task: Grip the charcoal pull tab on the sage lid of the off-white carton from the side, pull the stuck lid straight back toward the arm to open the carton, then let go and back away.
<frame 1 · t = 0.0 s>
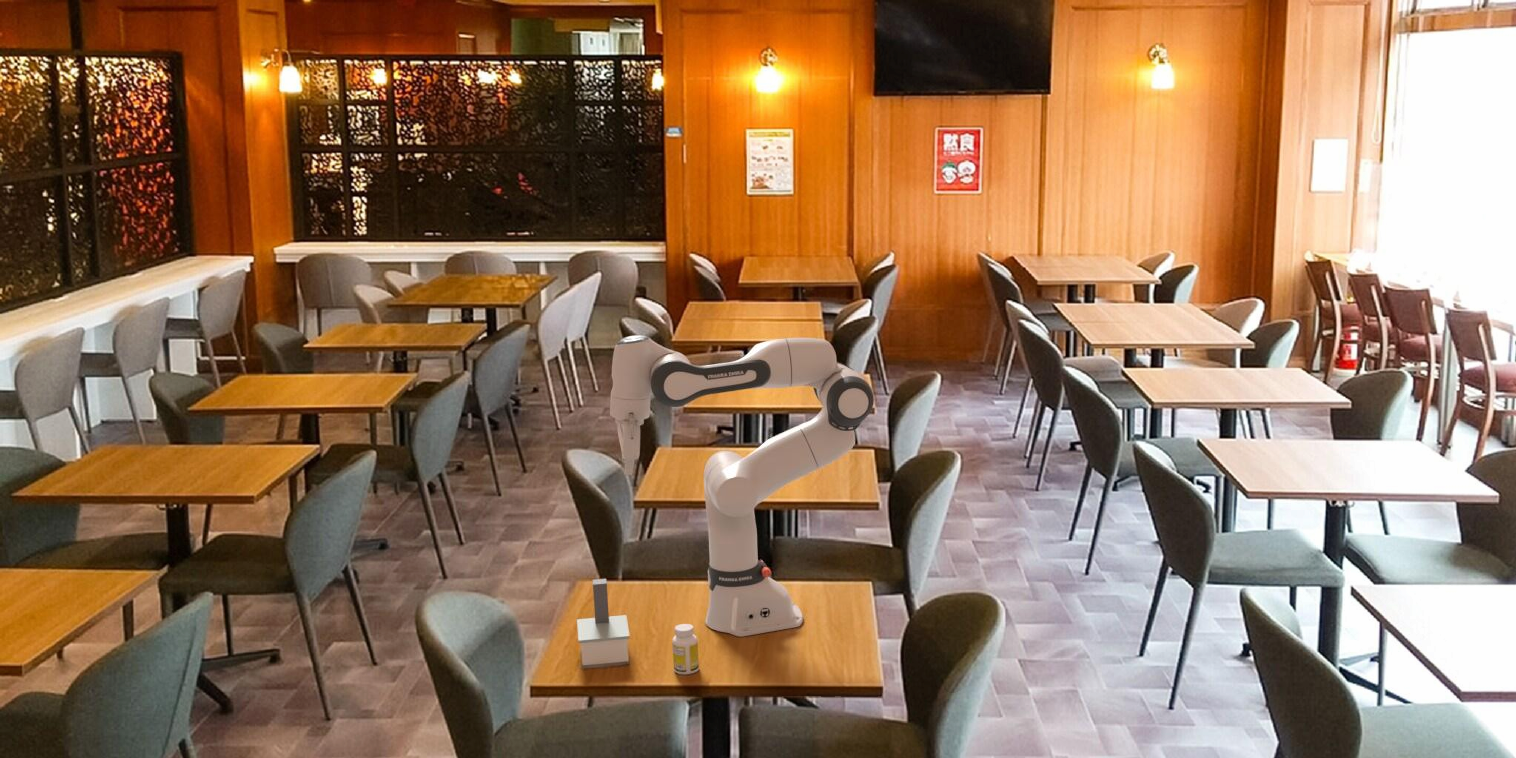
hand: (627, 468, 321), 39 cm above the table, tool pointing down, fingers open, 8 cm apart
carton: (604, 656, 316), on the table
carton lid: (601, 609, 314), point 11 cm above the table, slide at 0.0 cm
supplement bottle: (686, 670, 308), on the table
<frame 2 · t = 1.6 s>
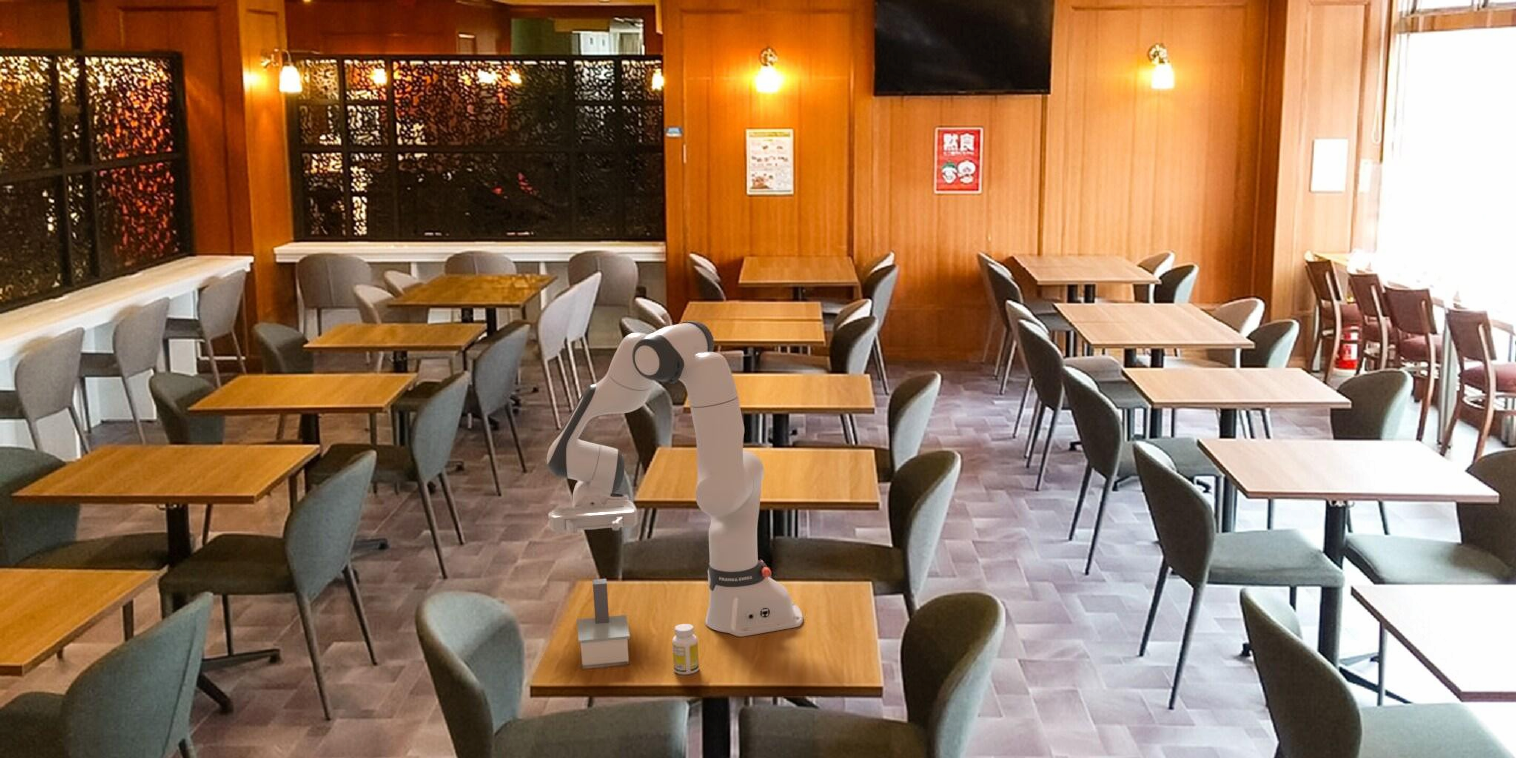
hand: (594, 528, 326), 24 cm above the table, tool horizontal, fingers open, 8 cm apart
nothing on the table moved.
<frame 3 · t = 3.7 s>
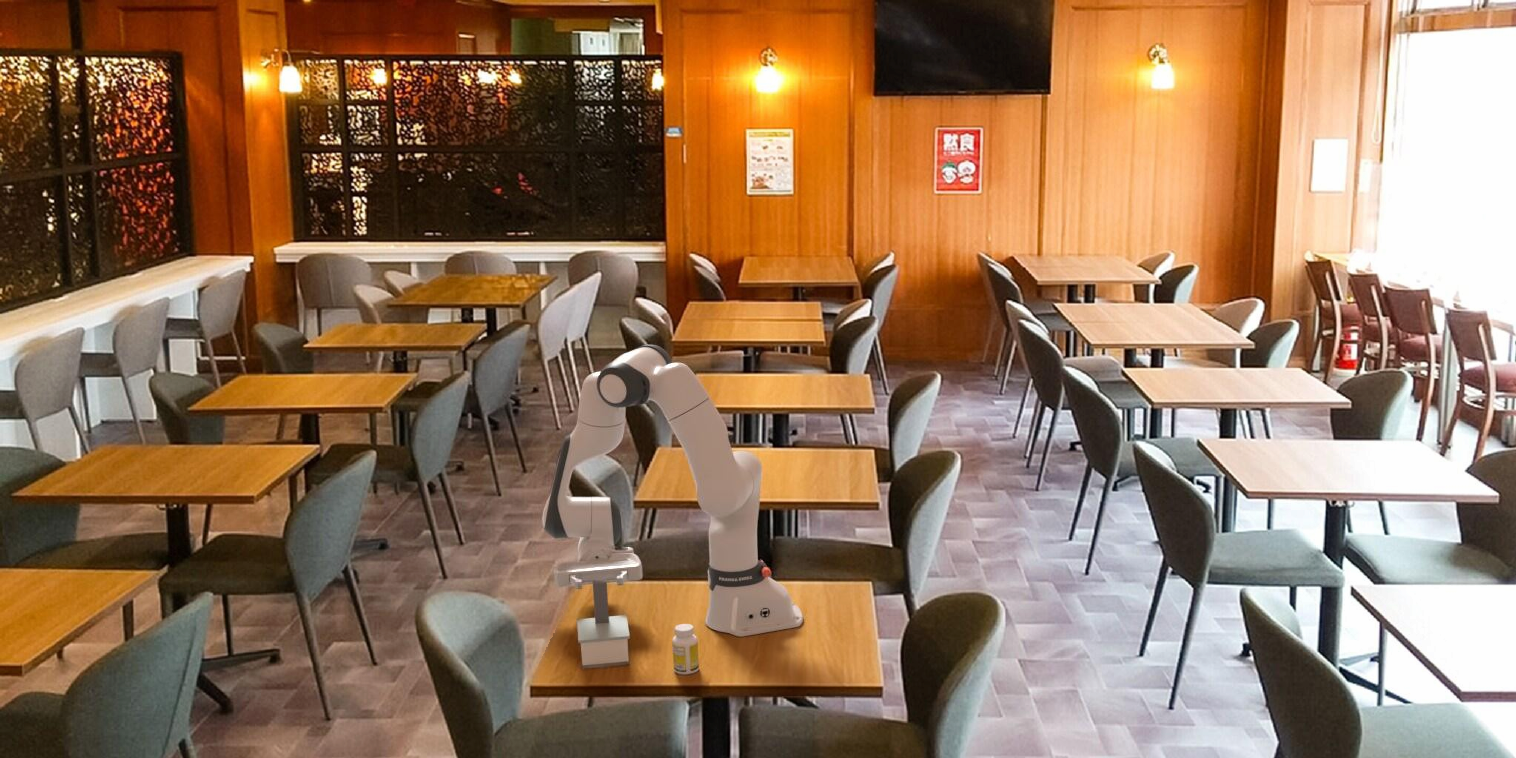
hand: (599, 583, 325), 12 cm above the table, tool horizontal, fingers open, 8 cm apart
nothing on the table moved.
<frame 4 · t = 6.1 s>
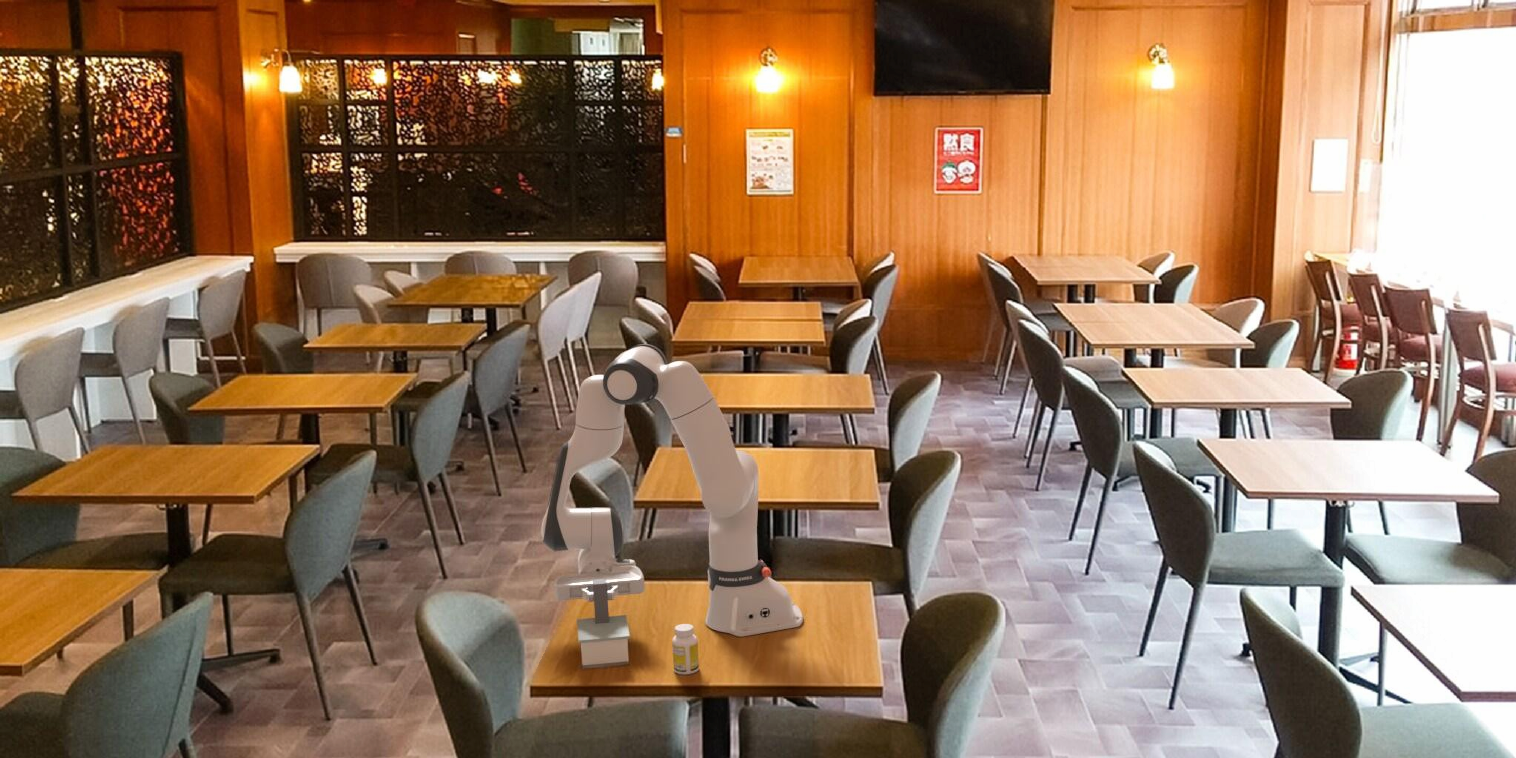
hand: (600, 597, 316), 13 cm above the table, tool horizontal, fingers closed on carton lid, 3 cm apart
carton lid: (601, 609, 314), point 11 cm above the table, slide at 0.0 cm, touching gripper
everything else where it was.
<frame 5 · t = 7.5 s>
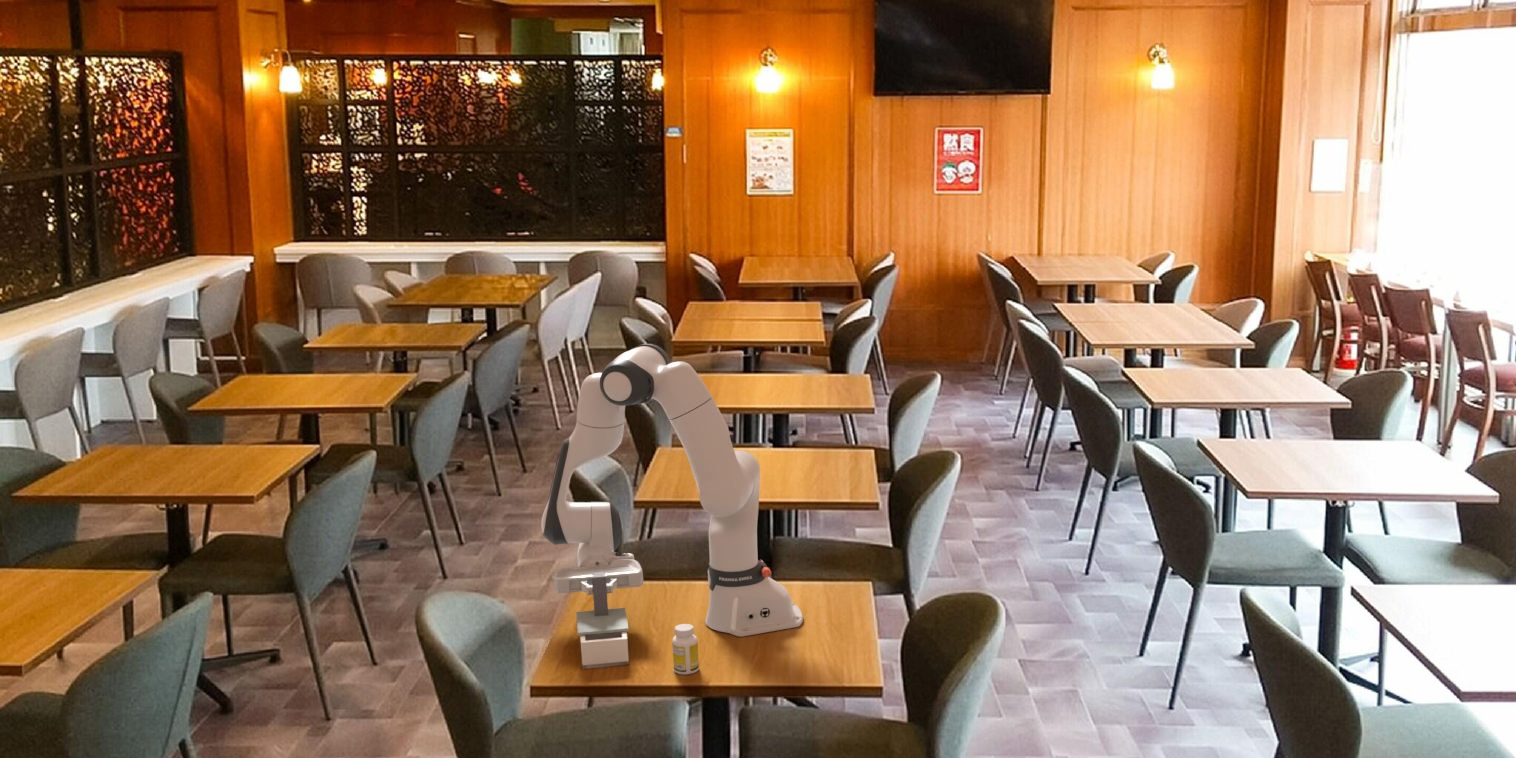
hand: (599, 590, 320), 13 cm above the table, tool horizontal, fingers closed on carton lid, 3 cm apart
carton lid: (600, 601, 318), point 11 cm above the table, slide at 4.3 cm, touching gripper
everything else where it was.
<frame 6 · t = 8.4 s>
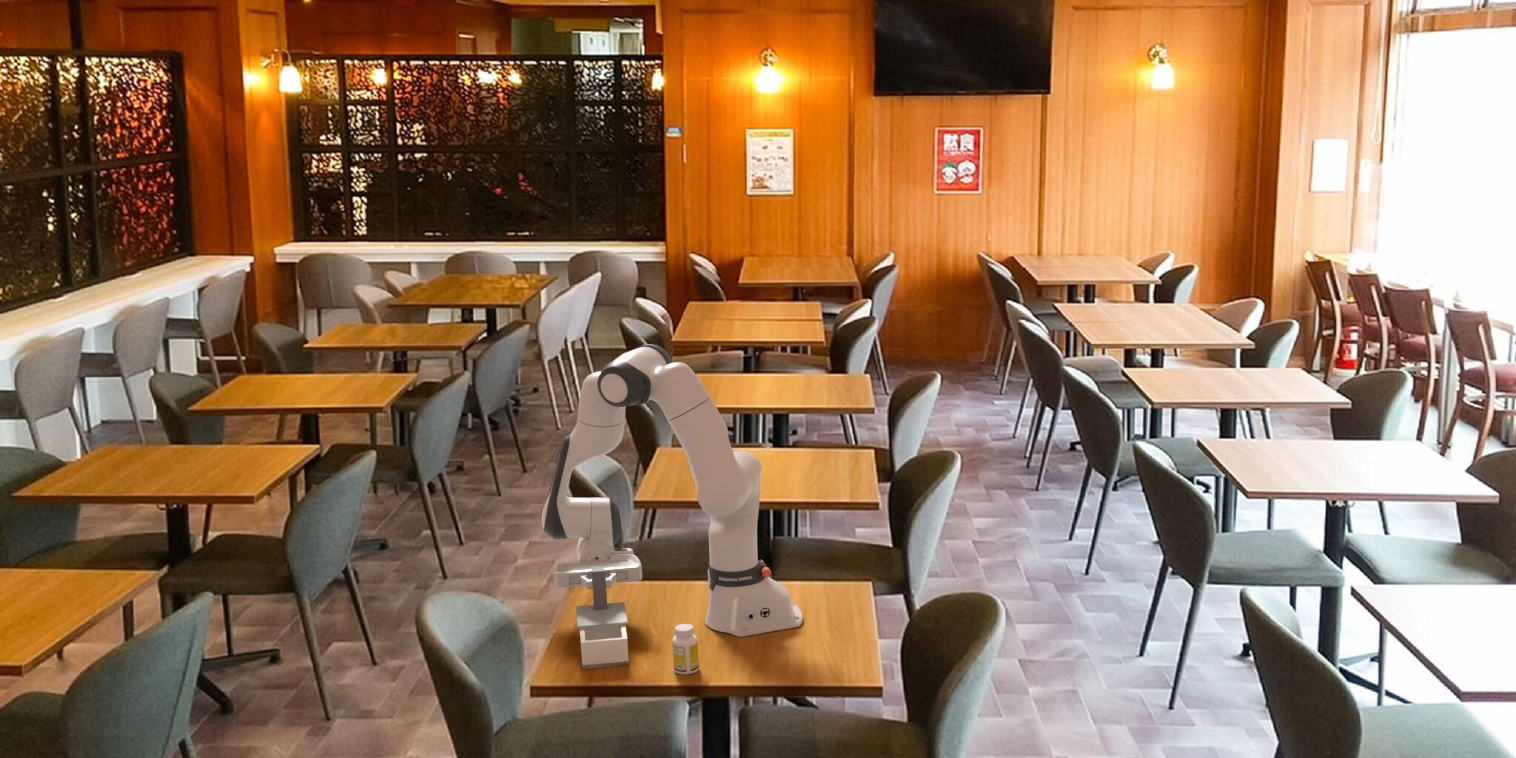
hand: (599, 584, 324), 13 cm above the table, tool horizontal, fingers closed on carton lid, 3 cm apart
carton lid: (600, 595, 321), point 11 cm above the table, slide at 7.9 cm, touching gripper
everything else where it was.
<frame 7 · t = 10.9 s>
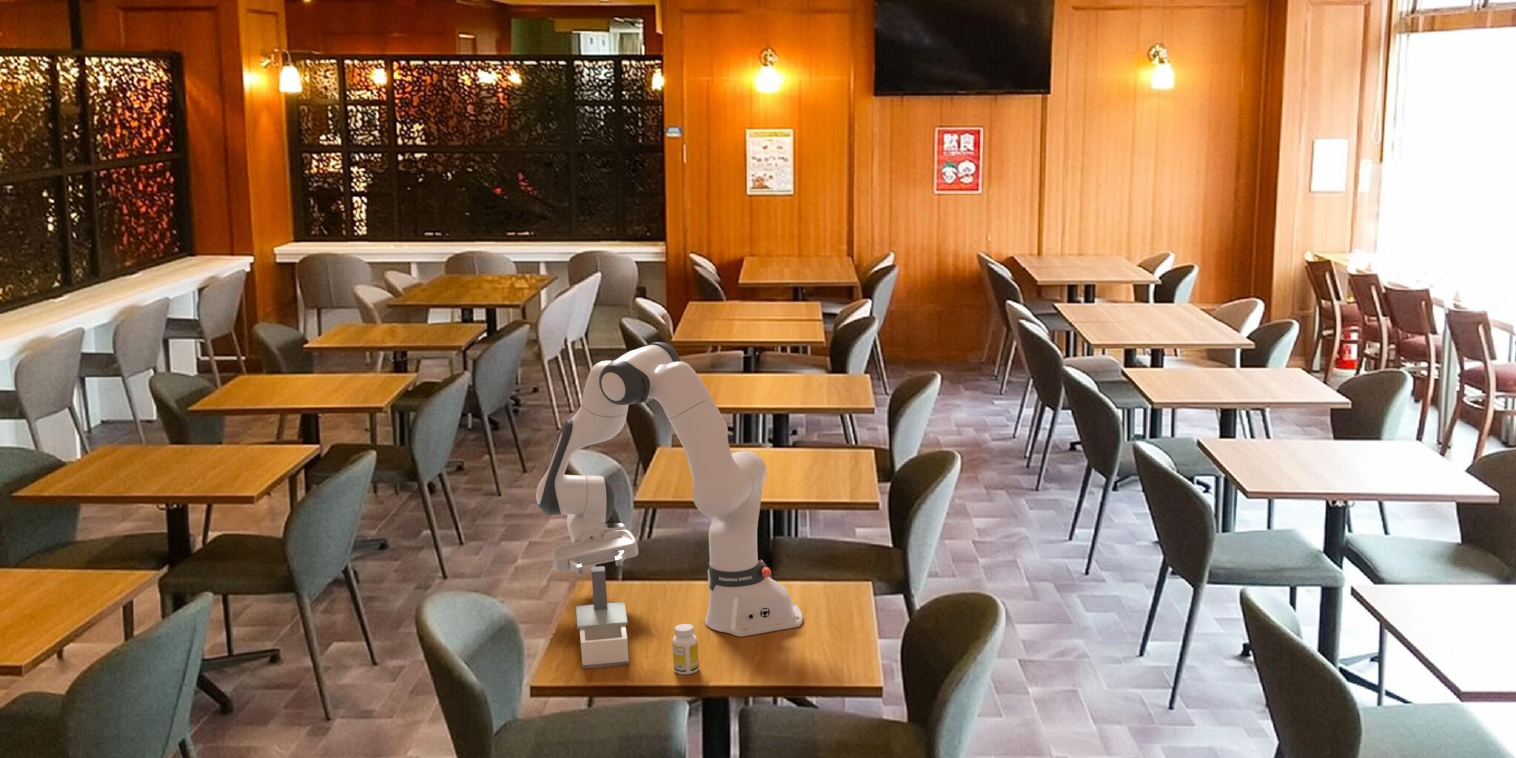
hand: (599, 566, 334), 13 cm above the table, tool horizontal, fingers open, 8 cm apart
carton lid: (600, 595, 321), point 11 cm above the table, slide at 7.9 cm
everything else where it was.
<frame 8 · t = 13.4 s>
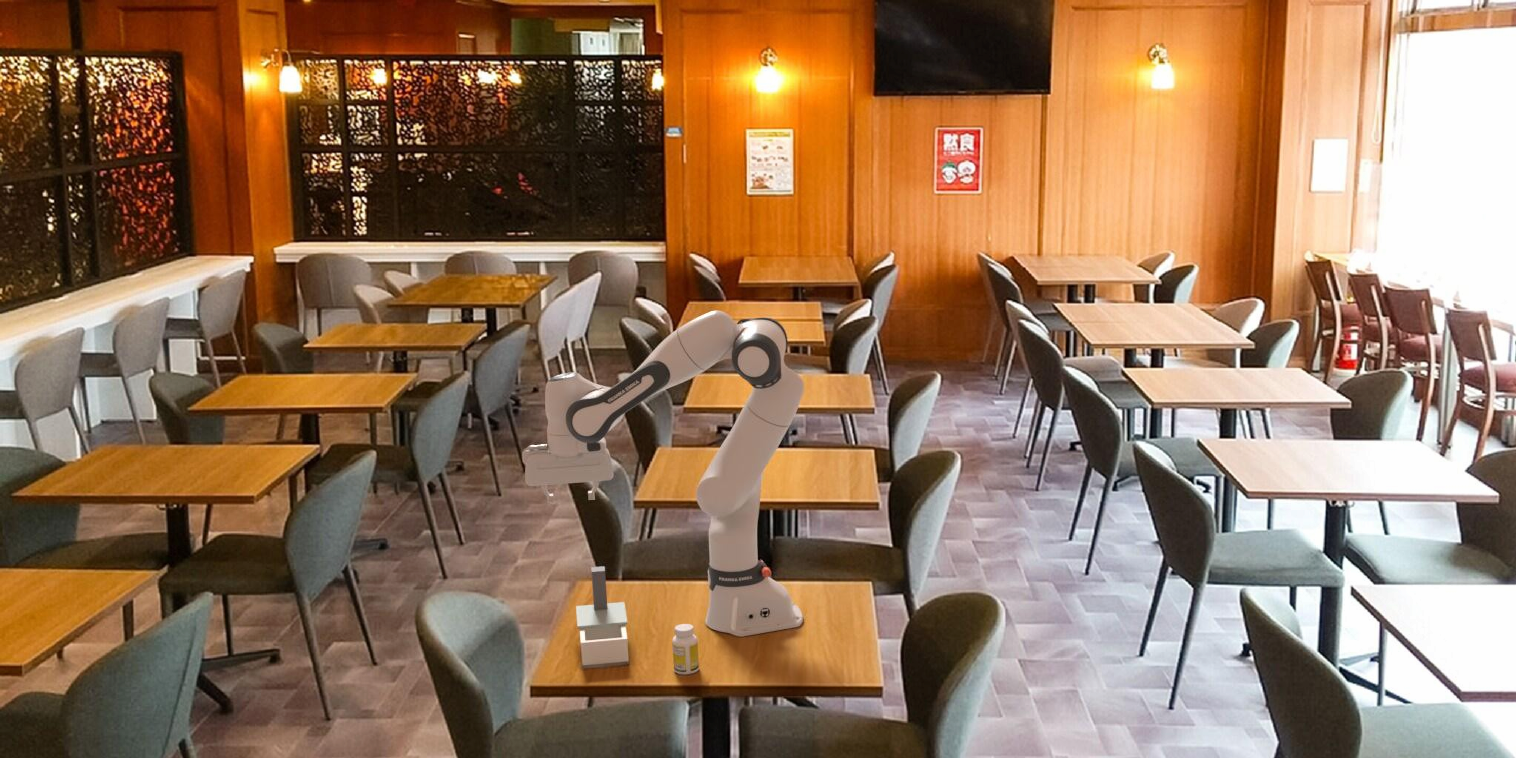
hand: (571, 500, 331), 29 cm above the table, tool pointing down, fingers open, 8 cm apart
nothing on the table moved.
at the end: carton lid slide at 7.9 cm; the gripper is holding nothing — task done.
